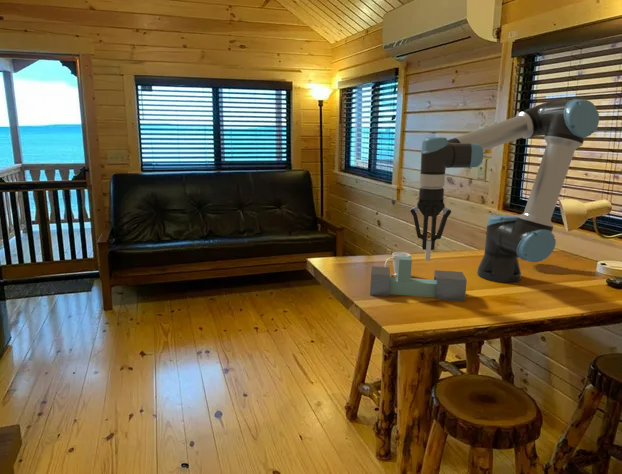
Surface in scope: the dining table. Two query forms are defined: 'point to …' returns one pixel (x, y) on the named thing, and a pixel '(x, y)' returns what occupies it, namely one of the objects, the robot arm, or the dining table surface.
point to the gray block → (450, 285)
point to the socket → (380, 281)
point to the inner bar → (410, 282)
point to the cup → (396, 260)
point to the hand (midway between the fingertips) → (427, 259)
